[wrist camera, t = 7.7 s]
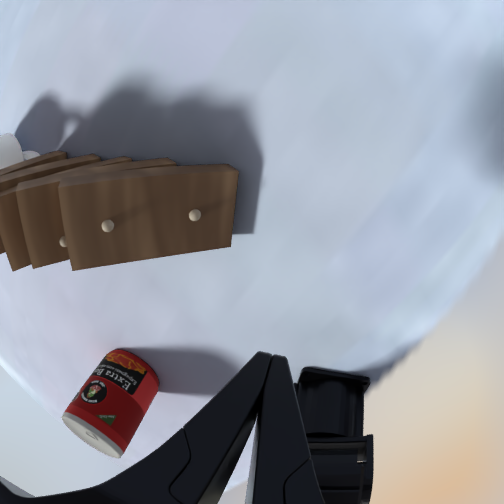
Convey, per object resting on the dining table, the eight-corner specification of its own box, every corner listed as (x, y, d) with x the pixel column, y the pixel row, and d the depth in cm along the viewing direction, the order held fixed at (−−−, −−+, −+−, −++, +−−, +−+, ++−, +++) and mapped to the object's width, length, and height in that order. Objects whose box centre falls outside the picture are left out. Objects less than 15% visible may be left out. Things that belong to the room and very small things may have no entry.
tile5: (68, 153, 20) (-40, 193, 12) (71, 209, 22) (-24, 258, 14) (57, 150, 20) (-45, 188, 12) (60, 203, 23) (-31, 249, 15)
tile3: (133, 159, 18) (-10, 201, 12) (141, 227, 21) (12, 274, 15) (124, 156, 19) (-7, 194, 13) (131, 219, 22) (12, 261, 16)
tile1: (241, 172, 17) (57, 189, 12) (232, 249, 19) (72, 274, 15) (227, 163, 18) (61, 178, 14) (221, 235, 21) (73, 256, 16)
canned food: (151, 356, 30) (102, 435, 21) (168, 397, 34) (131, 467, 24) (99, 340, 32) (48, 406, 22) (119, 381, 35) (80, 441, 26)
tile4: (102, 158, 19) (-28, 193, 12) (104, 220, 21) (-12, 261, 14) (93, 153, 20) (-27, 184, 13) (95, 212, 22) (-14, 248, 15)
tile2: (178, 164, 17) (15, 193, 12) (176, 236, 20) (33, 272, 14) (167, 157, 19) (18, 182, 13) (166, 224, 21) (32, 256, 16)
